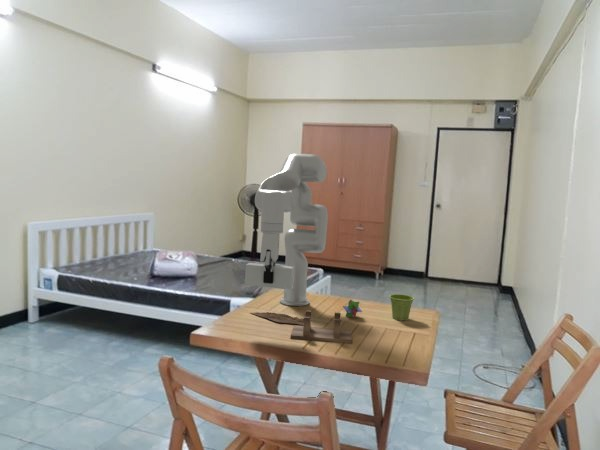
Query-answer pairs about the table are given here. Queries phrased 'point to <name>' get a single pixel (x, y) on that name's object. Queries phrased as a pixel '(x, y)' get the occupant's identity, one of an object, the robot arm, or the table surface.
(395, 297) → the plant pot
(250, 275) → the clay bar
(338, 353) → the table surface
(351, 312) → the geometric puzzle
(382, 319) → the table surface
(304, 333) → the wooden display stand
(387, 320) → the table surface
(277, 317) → the wooden fragment
